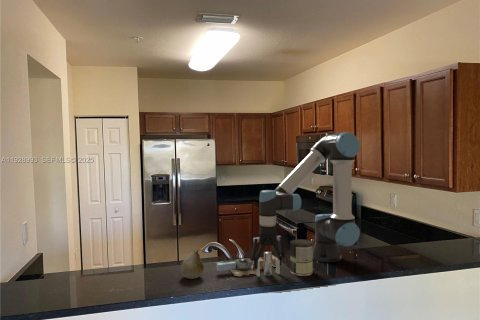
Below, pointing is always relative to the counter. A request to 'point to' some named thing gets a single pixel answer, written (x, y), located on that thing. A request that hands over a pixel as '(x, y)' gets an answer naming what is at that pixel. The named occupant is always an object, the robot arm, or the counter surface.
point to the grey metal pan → (235, 265)
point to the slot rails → (263, 262)
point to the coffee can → (301, 257)
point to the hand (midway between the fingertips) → (267, 274)
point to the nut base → (243, 271)
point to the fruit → (192, 266)
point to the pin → (267, 263)
